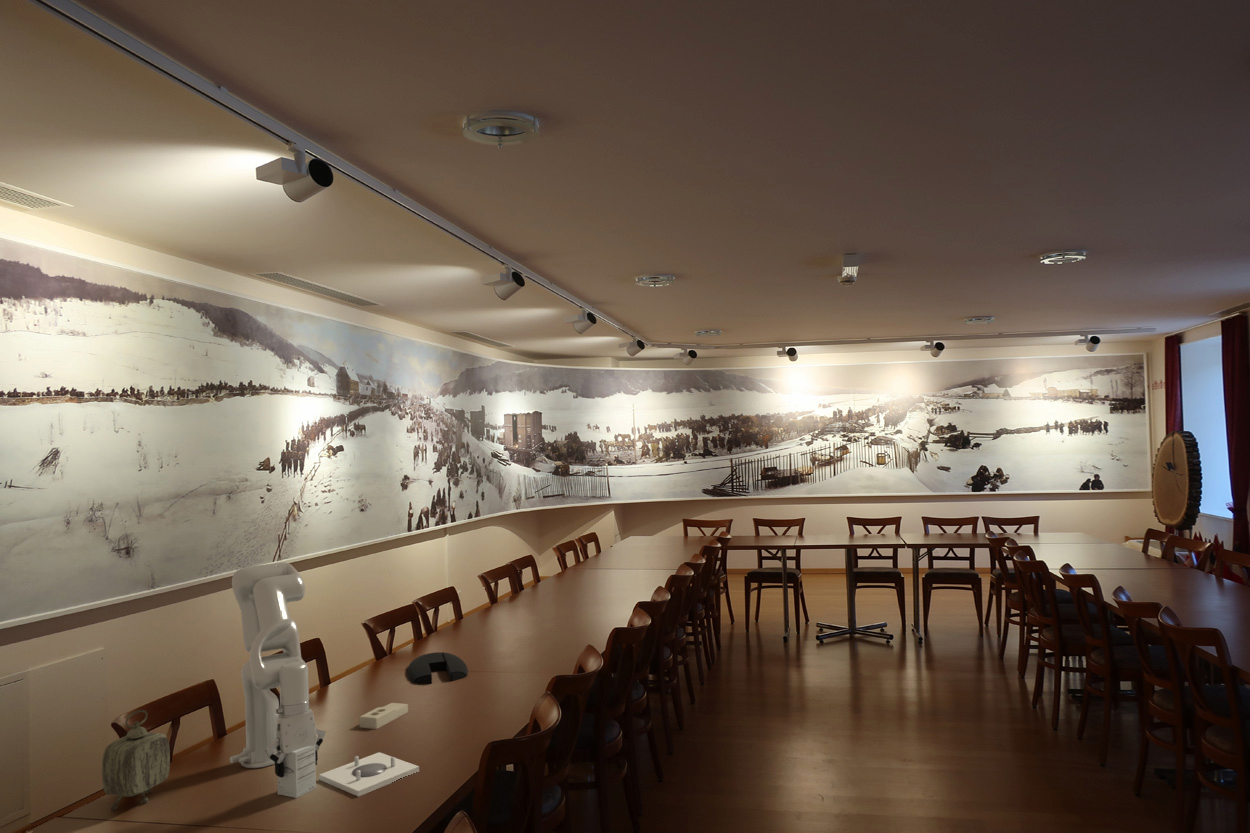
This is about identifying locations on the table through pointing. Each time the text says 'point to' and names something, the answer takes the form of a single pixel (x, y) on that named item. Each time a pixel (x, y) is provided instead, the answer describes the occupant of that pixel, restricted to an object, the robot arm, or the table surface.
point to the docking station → (436, 667)
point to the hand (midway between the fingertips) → (296, 770)
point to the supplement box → (298, 773)
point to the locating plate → (368, 773)
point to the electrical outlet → (382, 715)
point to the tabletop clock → (135, 762)
